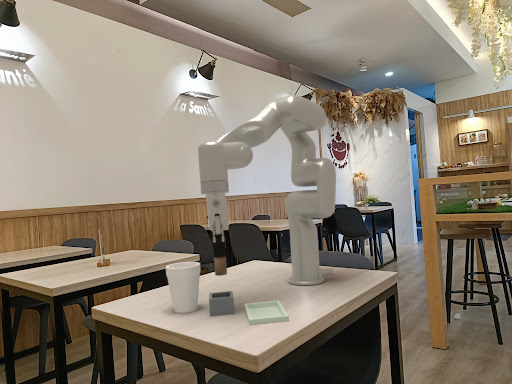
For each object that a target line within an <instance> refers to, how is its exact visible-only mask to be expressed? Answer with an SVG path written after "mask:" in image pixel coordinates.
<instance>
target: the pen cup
mask: <svg viewBox="0 0 512 384" xmlns="http://www.w3.org/2000/svg"><path fill="white" fill-rule="evenodd" d="M208 304H209V305H208V307H209V316H210V317H217V316H229V315H235V299H234V293H233V290H229V291H228V290H227V291H217V292H209V293H208Z"/></svg>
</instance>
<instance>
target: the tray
mask: <svg viewBox="0 0 512 384" xmlns="http://www.w3.org/2000/svg"><path fill="white" fill-rule="evenodd" d="M244 310H245V315H246V317H247V321H248V325H249V326H255V325H264V324H265V325H266V324H274V323H284V322H285V323H286V322H290V315H289V314H288V313H287V311H286V309H285V308H284V305H282V303H281V301H280V300H272V301H261V302H251V303H244Z"/></svg>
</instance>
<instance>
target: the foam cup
mask: <svg viewBox="0 0 512 384" xmlns="http://www.w3.org/2000/svg"><path fill="white" fill-rule="evenodd" d="M200 273H201V262H197V261H184V262H175V263H171V264H168V265H166V266H165V274H166V278H167V282H168V287H169V291H170V298H171V303H172V308H173V312H174V313H176V314H177V313H178V314H187V313H192V312H194V311H197V310H198V305H199V304H198V303H199V291H200V288H199V286H200V275H201V274H200Z"/></svg>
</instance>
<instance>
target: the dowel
mask: <svg viewBox="0 0 512 384" xmlns="http://www.w3.org/2000/svg"><path fill="white" fill-rule="evenodd" d="M215 240H216V238H215ZM224 242H225V243H226V241H225V238H224ZM213 243H214V239H213V238H212V244H213ZM213 262H214V263H213V264H214V275H215V276H218V277H222V276H225V275H226V276H227V274H228V269H227V268H228V267H227V256H226V257H219V258H214V257H213Z"/></svg>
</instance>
